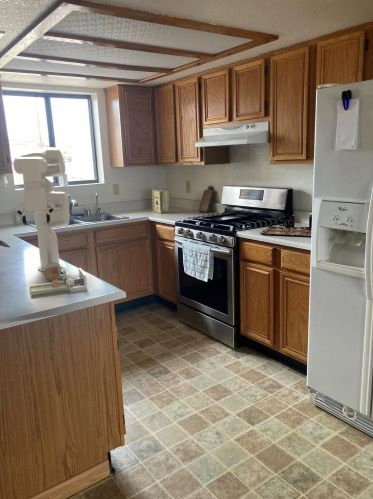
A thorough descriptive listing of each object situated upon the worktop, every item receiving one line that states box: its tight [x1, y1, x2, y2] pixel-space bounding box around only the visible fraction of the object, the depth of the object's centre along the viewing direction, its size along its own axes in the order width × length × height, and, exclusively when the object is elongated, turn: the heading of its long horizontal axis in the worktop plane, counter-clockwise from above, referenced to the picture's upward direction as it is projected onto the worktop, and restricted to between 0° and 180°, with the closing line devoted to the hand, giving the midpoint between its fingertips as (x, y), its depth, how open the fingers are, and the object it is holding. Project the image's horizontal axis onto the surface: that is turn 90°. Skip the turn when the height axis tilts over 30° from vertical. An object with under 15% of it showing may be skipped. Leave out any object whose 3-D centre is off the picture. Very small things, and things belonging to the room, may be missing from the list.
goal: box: [62, 267, 88, 294], centre depth 183 cm, size 14×8×8 cm, turn 23°
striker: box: [50, 265, 60, 288], centre depth 180 cm, size 6×3×9 cm, turn 23°
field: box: [29, 280, 69, 299], centre depth 180 cm, size 13×15×2 cm
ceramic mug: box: [43, 262, 67, 282], centre depth 198 cm, size 11×8×8 cm
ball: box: [66, 278, 75, 287], centre depth 183 cm, size 4×4×4 cm
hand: (36, 223), depth 185 cm, fingers open, 9 cm apart
